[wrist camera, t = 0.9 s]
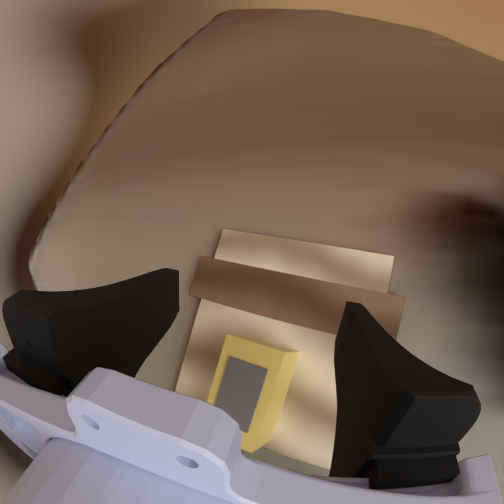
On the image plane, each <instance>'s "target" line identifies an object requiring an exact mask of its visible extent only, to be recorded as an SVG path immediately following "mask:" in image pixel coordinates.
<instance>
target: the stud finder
mask: <svg viewBox="0 0 504 504" xmlns="http://www.w3.org/2000/svg"><path fill="white" fill-rule="evenodd" d="M298 356H299V351H295V350H292V349H288V348H285V347H281V346H278V345H275V344H271V343H268V342H265V341H261V340H258V339H255V338H252V337H248V336H240V335H233V334H227V335H226V338H225V342H224V345H223V348H222V352H221V355H220V359H219V362H218V365H217V369H216V372H215V376H214V379H213V382H212V386H211V389H210V393H209V396H208V399H207V402H208V403H210V404H212V405H215V406H217V407H220V408H222V409H223V410H224V411H225V412H226V413H227V414H228V415H230V416H231V417H232V418H233V419H234V420H235V421H236V422H237V423H238V424H239V427H240V431H241V434H242V441H241V449H243V450H245V451H248V452H250V453H253V452H255V451H256V450H257V449H259V448H260V447H261V446H263V445H264V444H266V443H267V442H268V441H270V440H271V438H272V435H273V432H274V430H275V427H276V424H277V421H278V418H279V415H280V412H281V409H282V406H283V403H284V400H285V397H286V394H287V391H288V388H289V385H290V382H291V379H292V375H293V372H294V369H295V366H296V362H297V359H298Z"/></svg>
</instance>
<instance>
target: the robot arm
mask: <svg viewBox="0 0 504 504" xmlns="http://www.w3.org/2000/svg"><path fill="white" fill-rule="evenodd" d="M2 311H3V318H4V321H5V325H6V327H7V330H8V333H9V336H10V338H11V341H12V344H13V346H14V348H13V349H12V350H11V351H10V352H9V350H8V349H7V348H6V347H5V346H4V345H3V344H2V343H0V429H1V430H2V431H3V432H4V433H5V434H6V435H7V436H8V437H9V438H10V439H11V440H12V441H13V442H14V443H15V444H16V445H18V446H19V447H20V448H21V449H22V450H23V451H24V452H25V453H26V454H28V455H29V456H30V457H31V458H32V459H33V460H34V461H33V462H32V463H31V464H30V466H29V467H28V468H27V470H26V471H25V472H24V473H23V475H22V476H21V477H20V478H19V480H18V481H17V482H16V484H15V485H14V487H13V488H12V489H11V490H10V492H9V493H8V494H7V496H6V497H5V498H4V500H3V501H2V502H1V504H503V502H502V497H501V493H500V489H499V485H498V481H497V478H496V474H495V471H494V467H493V464H492V461H491V457H490V455H488V454H487V455H482V456H477V457H471V458H467V459H464V460H462V461H460V462H457V458H456V455H458V454H459V452H460V447H459V444H458V442H459V441H460V440H461V439H462V438H463V437H464V435H465V434H466V433H467V432H468V431H469V430H470V428H471V427H472V426H473V425H474V423H475V422H476V420H477V418H478V417H479V414H480V411H481V403H480V401H479V399H478V396H477V394H476V392H475V390H474V387H473V385H470V384H468V383H465V382H462V381H460V380H457V379H455V378H452V377H450V376H448V375H446V374H444V373H442V372H440V371H438V370H436V369H434V368H432V367H431V366H429V365H427V364H426V363H424V362H423V361H421V360H420V359H418V358H417V357H415V356H414V355H413V354H411V353H410V352H409V351H408V350H406V349H405V348H404V347H403V346H401V345H400V344H399V343H398V342H397V341H396V340H395V339H394V338H393V337H392V336H391V335H390V334H389V333H388V332H387V331H386V330H385V329H384V328H383V327H382V326H381V325H380V324H379V323H378V322H377V321H376V319H375V318H374V317H373V316H372V315H371V314H370V313H369V311H368V310H367V309H366V308H365V307H364V306H363V305H362V304H361V303H356V302H349V301H347V302H346V305H345V309H344V312H343V316H342V319H341V323H340V326H339V329H338V333H337V336H336V339H335V348H334V369H335V382H336V396H337V417H336V430H335V439H334V448H333V455H332V461H331V468H330V473H329V477H326V476H314V475H306V474H303V473H299V472H296V471H293V470H289V469H286V468H283V467H280V466H277V465H274V464H271V463H268V462H265V461H262V460H260V459H257V458H254V457H252V456H249V455H246V454H244V453H241V441H242V434H241V431H240V427H239V424H238V423H237V422H236V421H235V420H234V419H233V418H232V417H231V416H230V415H228V414H227V413H226V412H225V411H224V410H223V409H222V408H220V407H217V406H215V405H212V404H210V403H208V402H206V401H203V400H201V399H197V398H194V397H190V396H187V395H184V394H180V393H177V392H174V391H171V390H168V389H165V388H162V387H159V386H156V385H153V384H150V383H147V382H144V381H141V380H139V379H136V378H134V377H135V376H136V374H137V372H138V370H139V369H140V367H141V365H142V364H143V362H144V361H145V360H146V358H147V357H148V356H149V354H150V353H151V352H152V350H153V349H154V348H155V347H156V345H157V344H158V343H159V341H160V340H161V339H162V337H163V336H164V335H165V333H166V332H167V331H168V329H169V328H170V327H171V325H172V323H173V321H174V319H175V318H176V316H177V314H178V312H179V271H178V270H174V269H169V268H164V269H159V270H156V271H152V272H149V273H146V274H143V275H140V276H137V277H134V278H131V279H128V280H124V281H121V282H117V283H114V284H110V285H106V286H102V287H96V288H91V289H84V290H75V291H59V292H48V291H33V290H20V291H18V292H17V293H15V294H14V295H12V296H11V297H9V298H7V299H6V300H5V301H4V303H3V309H2Z"/></svg>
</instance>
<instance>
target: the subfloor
mask: <svg viewBox="0 0 504 504" xmlns="http://www.w3.org/2000/svg"><path fill="white" fill-rule="evenodd" d="M393 259H394V256H389V255H383V254H377V253H371V252H365V251H359V250H353V249H347V248H341V247H335V246H329V245H323V244H317V243H311V242H304V241H298V240H292V239H285V238H279V237H273V236H266V235H259V234H253V233H246V232H240V231H233V230H226V229H223V232H222V235H221V238H220V241H219V244H218V247H217V250H216V254H215V257H214V258H210V257H206V256H201V259H200V262H199V265H198V268H197V272H196V275H195V278H194V281H193V284H192V288H191V291H190V294H189V295H192V296H195V297H198V298H201V302H200V305H199V309H198V312H197V315H196V319H195V322H194V326H193V329H192V333H191V336H190V339H189V343H188V346H187V350H186V353H185V357H184V360H183V364H182V368H181V371H180V375H179V378H178V382H177V386H176V389H175V392H177V393H180V394H184V395H187V396H190V397H194V398H197V399H201V400H203V401H206V402H207V399H208V396H209V393H210V389H211V386H212V382H213V379H214V376H215V372H216V369H217V365H218V362H219V359H220V355H221V352H222V348H223V345H224V342H225V338H226V335H227V334H233V335H240V336H248V337H252V338H255V339H258V340H261V341H265V342H268V343H271V344H275V345H278V346H281V347H285V348H288V349H292V350H295V351H299V356H298V359H297V362H296V366H295V369H294V372H293V375H292V379H291V382H290V385H289V388H288V391H287V394H286V397H285V400H284V403H283V406H282V409H281V412H280V415H279V418H278V421H277V424H276V427H275V430H274V432H273V435H272V438H271V440H270V441H268V442H267V443H266V444H264V445H263V446H261V447H264V448H266V449H269V450H271V451H274V452H277V453H280V454H282V455H285V456H288V457H291V458H294V459H297V460H300V461H303V462H306V463H309V464H313V465H316V466H319V467H323V468H326V469H330V468H331V461H332V455H333V448H334V439H335V430H336V417H337V396H336V382H335V369H334V348H335V339H336V336H337V333H338V329H339V326H340V323H341V319H342V316H343V312H344V309H345V305H346V302H347V301H349V302H356V303H361V304H362V305H363V306H364V307H365V308H366V309H367V310H368V311H369V313H370V314H371V315H372V316H373V317H374V318H375V319H376V321H377V322H378V323H379V324H380V325H381V326H382V327H383V328H384V329H385V330H386V331H387V332H388V333H389V334H390V335H391V336H392V337H393V338H394V339H395V340H396V337H397V333H398V329H399V325H400V320H401V316H402V311H403V306H404V301H405V296H400V295H395V294H390V293H388V288H389V282H390V277H391V271H392V265H393Z"/></svg>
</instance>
